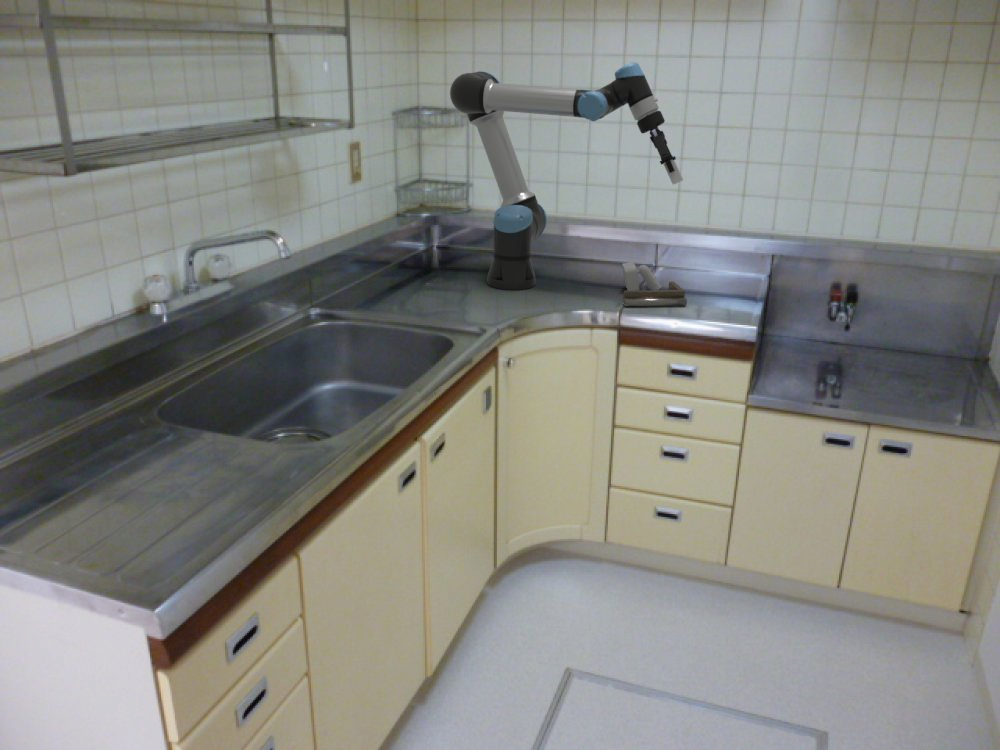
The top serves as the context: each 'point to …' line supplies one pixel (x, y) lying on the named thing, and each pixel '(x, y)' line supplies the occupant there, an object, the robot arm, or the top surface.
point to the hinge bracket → (656, 297)
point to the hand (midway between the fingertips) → (678, 182)
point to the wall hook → (632, 277)
